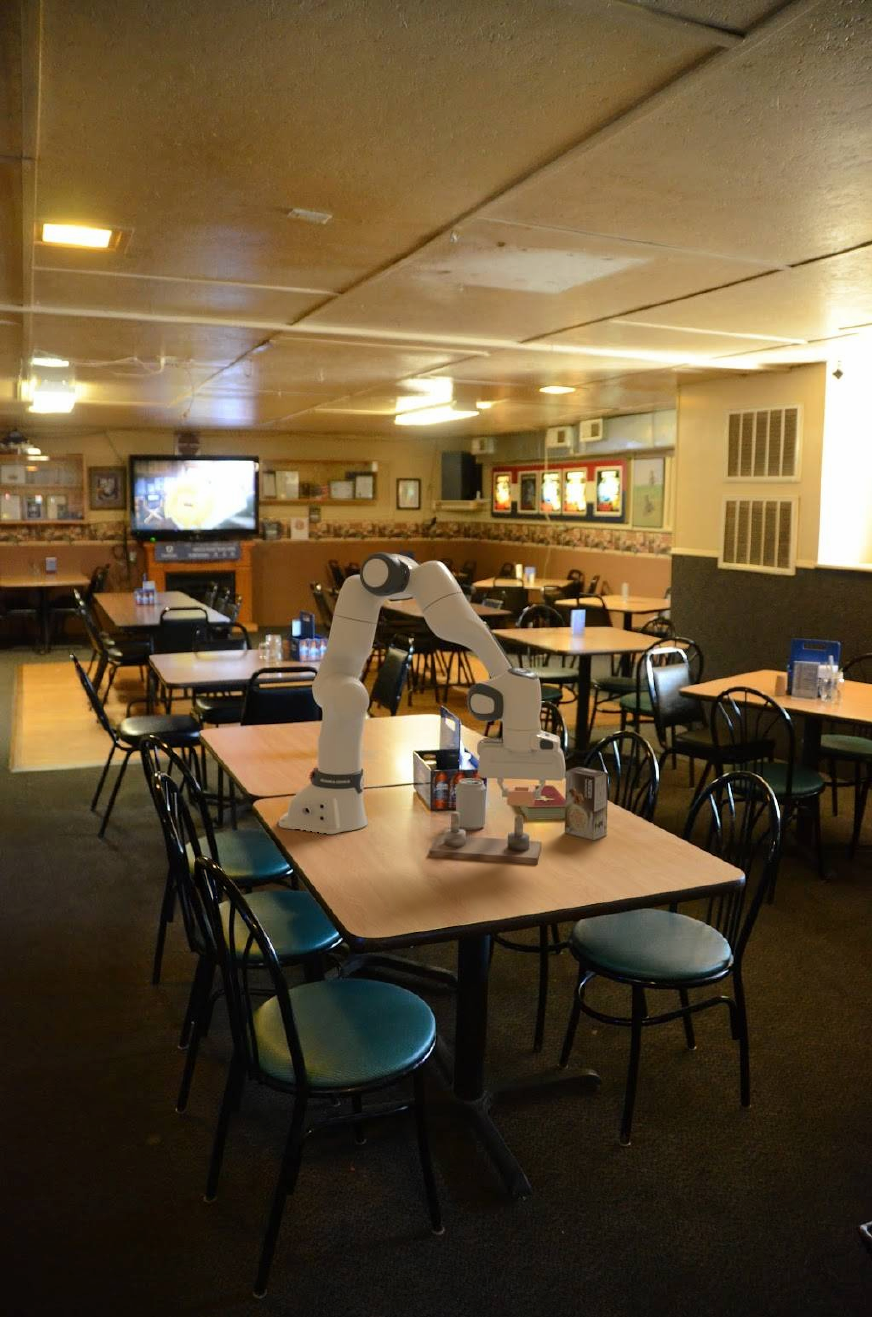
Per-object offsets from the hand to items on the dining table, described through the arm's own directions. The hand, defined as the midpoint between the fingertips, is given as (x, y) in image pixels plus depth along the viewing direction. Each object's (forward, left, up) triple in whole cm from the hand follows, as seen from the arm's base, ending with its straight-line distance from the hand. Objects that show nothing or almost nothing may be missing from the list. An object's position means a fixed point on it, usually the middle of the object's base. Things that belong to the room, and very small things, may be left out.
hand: (521, 797), depth 234 cm
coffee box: (+15, +18, -14) cm, 27 cm away
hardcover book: (+2, +39, -14) cm, 42 cm away
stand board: (-8, -1, -14) cm, 16 cm away
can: (-14, +18, -14) cm, 27 cm away
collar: (0, 0, -1) cm, 1 cm away
